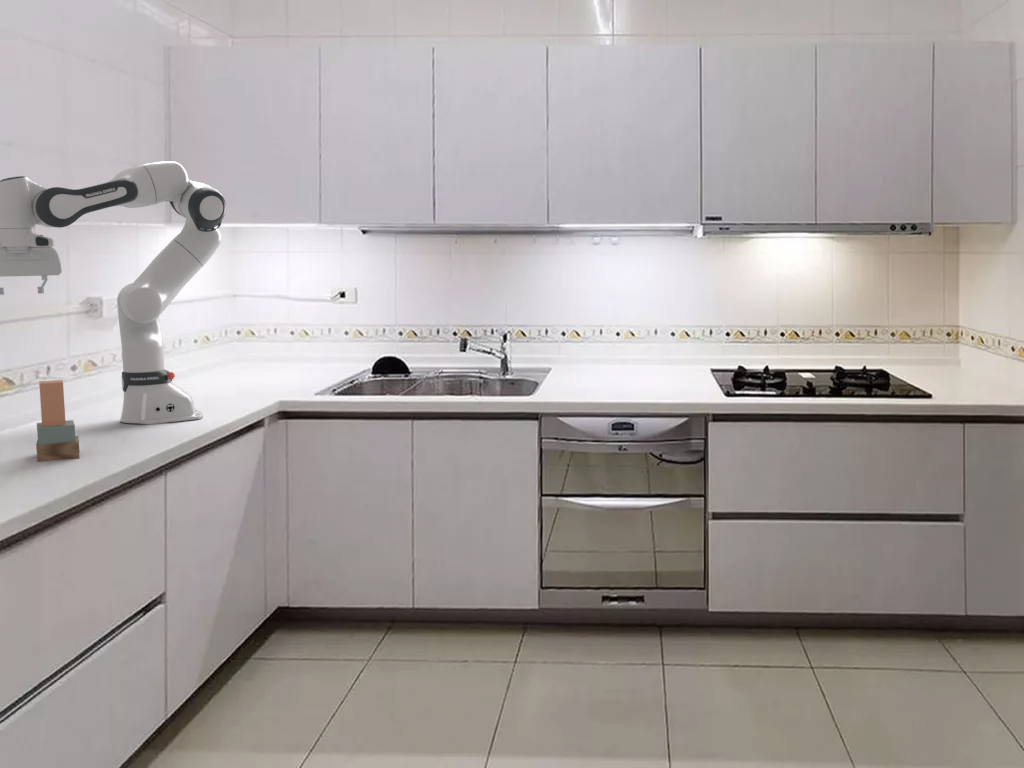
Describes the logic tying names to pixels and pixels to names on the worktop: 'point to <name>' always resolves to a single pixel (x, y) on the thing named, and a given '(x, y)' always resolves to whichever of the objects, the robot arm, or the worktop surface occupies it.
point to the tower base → (58, 451)
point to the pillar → (52, 403)
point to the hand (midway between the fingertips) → (21, 294)
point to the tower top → (56, 433)
